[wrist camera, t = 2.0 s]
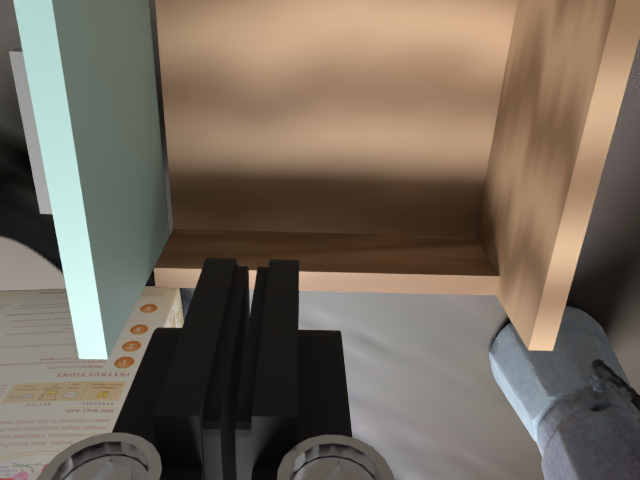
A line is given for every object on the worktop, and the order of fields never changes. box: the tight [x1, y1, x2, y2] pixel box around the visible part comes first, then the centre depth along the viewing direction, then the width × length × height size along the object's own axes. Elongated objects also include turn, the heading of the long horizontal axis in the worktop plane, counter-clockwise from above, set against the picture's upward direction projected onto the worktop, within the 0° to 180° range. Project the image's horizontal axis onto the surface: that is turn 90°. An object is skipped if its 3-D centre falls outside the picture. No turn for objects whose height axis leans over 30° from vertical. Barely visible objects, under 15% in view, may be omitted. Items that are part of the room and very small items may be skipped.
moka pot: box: [489, 306, 640, 480], centre depth 35 cm, size 10×15×20 cm, turn 17°
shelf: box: [154, 0, 640, 351], centre depth 28 cm, size 23×20×14 cm
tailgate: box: [9, 0, 169, 359], centre depth 25 cm, size 19×2×12 cm, turn 178°
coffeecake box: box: [0, 286, 184, 480], centre depth 33 cm, size 15×7×20 cm, turn 91°
